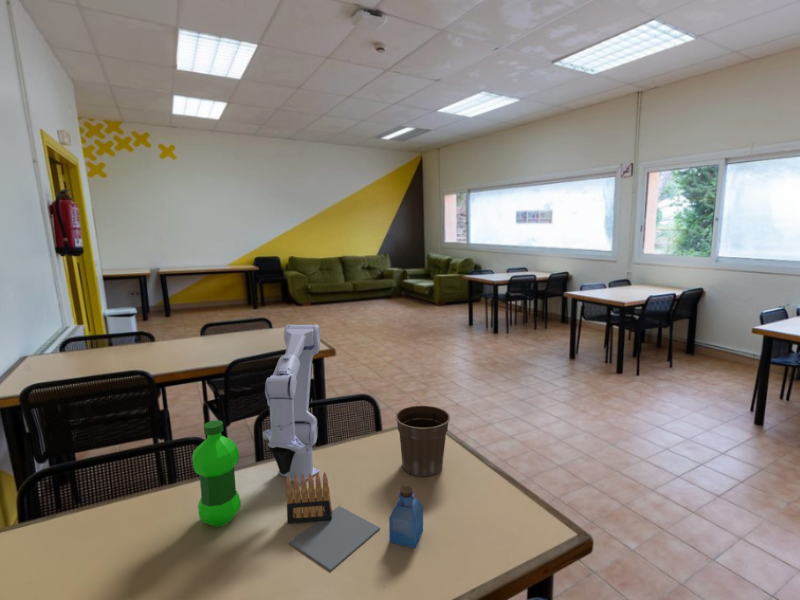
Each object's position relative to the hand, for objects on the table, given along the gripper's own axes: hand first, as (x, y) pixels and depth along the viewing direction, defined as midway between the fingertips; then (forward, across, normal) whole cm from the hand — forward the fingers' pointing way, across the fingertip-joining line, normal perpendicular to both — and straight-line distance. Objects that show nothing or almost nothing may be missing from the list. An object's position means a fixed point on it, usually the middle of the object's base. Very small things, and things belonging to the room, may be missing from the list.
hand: (285, 472), depth 109 cm
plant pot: (+10, +17, +37) cm, 42 cm away
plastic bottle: (+10, -9, -13) cm, 19 cm away
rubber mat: (+10, +18, 0) cm, 20 cm away
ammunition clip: (+10, +9, 0) cm, 13 cm away
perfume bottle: (+10, +31, +10) cm, 34 cm away
